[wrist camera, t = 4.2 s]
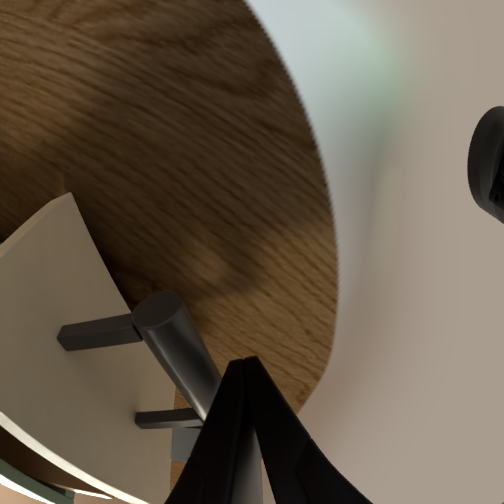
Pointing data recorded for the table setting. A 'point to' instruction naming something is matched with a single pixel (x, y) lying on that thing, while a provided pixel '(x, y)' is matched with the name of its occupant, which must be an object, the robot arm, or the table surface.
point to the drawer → (91, 366)
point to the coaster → (183, 442)
